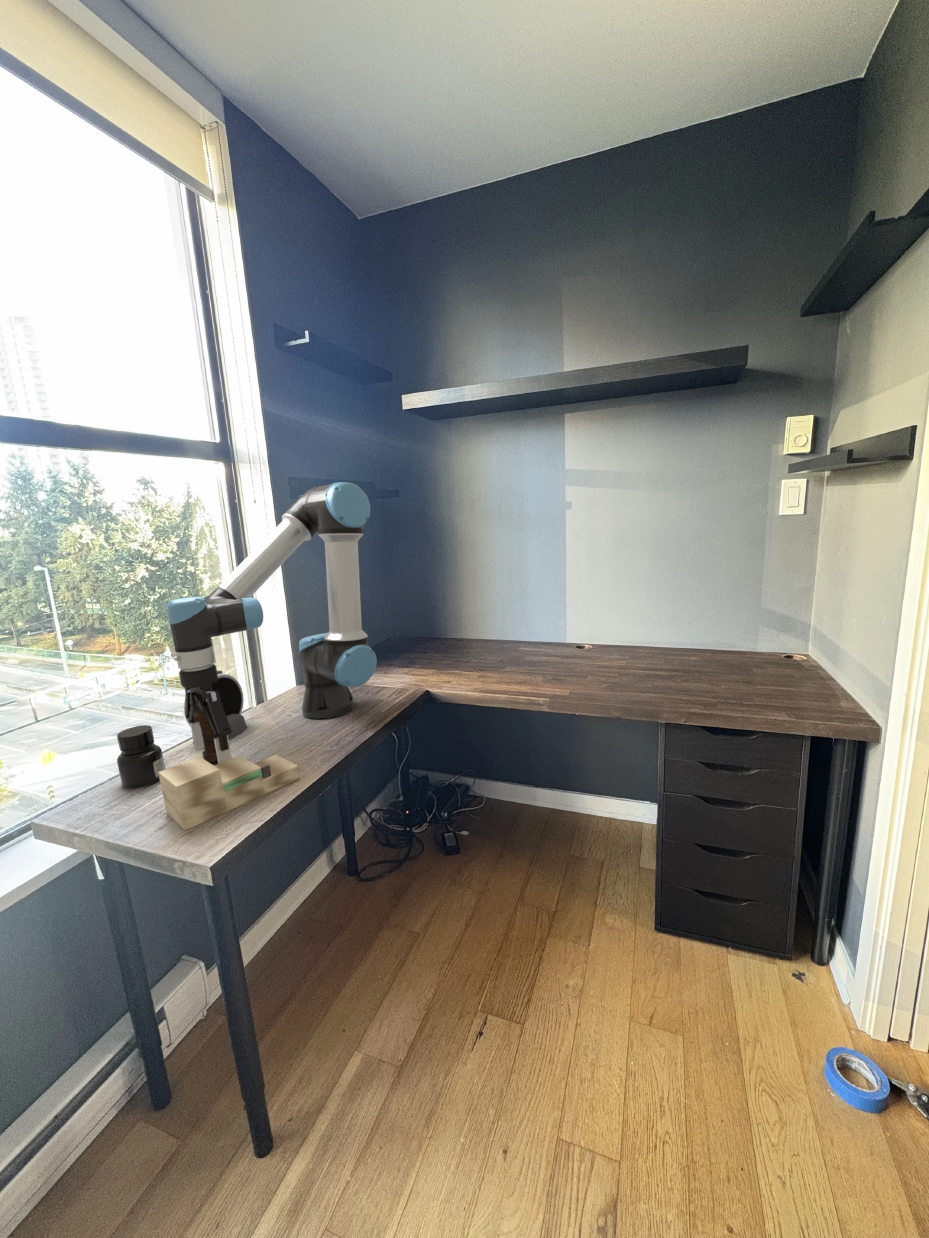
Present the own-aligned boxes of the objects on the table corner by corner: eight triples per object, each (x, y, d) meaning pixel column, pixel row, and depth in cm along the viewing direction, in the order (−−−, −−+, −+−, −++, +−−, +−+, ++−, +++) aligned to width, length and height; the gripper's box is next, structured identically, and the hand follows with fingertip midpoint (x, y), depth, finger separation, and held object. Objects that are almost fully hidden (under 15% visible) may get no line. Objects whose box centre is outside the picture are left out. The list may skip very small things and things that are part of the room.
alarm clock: (213, 749, 136) (200, 682, 133) (182, 746, 140) (169, 680, 136) (256, 724, 151) (245, 663, 148) (227, 722, 154) (217, 662, 151)
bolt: (233, 765, 126) (222, 705, 123) (225, 775, 121) (213, 713, 118) (209, 767, 126) (197, 708, 123) (199, 778, 121) (187, 716, 118)
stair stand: (277, 766, 123) (271, 730, 122) (301, 779, 116) (295, 740, 114) (166, 813, 107) (158, 771, 105) (186, 831, 99) (177, 787, 98)
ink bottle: (171, 779, 122) (161, 730, 119) (127, 794, 116) (115, 743, 114) (161, 766, 129) (151, 720, 126) (118, 780, 123) (107, 732, 121)
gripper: (160, 663, 124) (176, 747, 128) (201, 679, 107) (218, 776, 111) (193, 655, 129) (208, 737, 133) (238, 670, 112) (253, 763, 116)
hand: (213, 755), depth 122 cm, fingers open, 13 cm apart
